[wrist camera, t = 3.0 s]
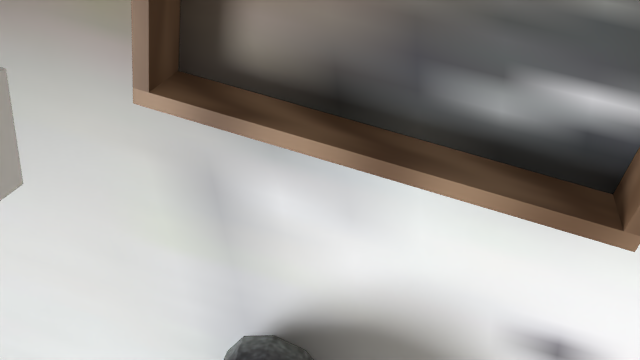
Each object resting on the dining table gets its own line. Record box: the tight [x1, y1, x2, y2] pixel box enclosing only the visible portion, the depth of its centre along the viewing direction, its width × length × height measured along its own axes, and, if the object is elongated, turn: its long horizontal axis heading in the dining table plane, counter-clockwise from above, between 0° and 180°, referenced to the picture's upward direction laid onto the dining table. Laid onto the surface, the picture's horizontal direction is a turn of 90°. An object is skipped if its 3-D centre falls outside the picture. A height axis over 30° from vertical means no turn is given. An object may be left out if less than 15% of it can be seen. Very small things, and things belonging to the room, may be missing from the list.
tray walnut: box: [131, 0, 640, 252], centre depth 20 cm, size 20×10×2 cm, turn 80°
